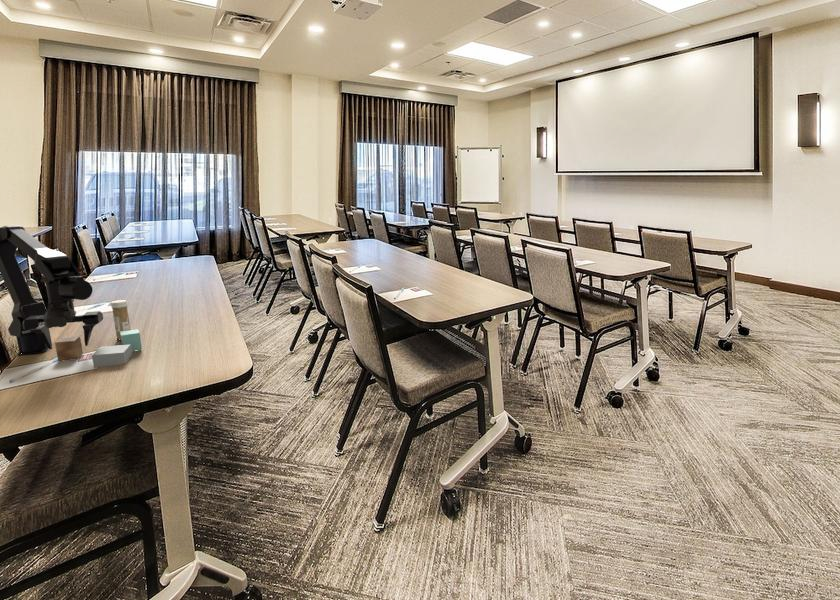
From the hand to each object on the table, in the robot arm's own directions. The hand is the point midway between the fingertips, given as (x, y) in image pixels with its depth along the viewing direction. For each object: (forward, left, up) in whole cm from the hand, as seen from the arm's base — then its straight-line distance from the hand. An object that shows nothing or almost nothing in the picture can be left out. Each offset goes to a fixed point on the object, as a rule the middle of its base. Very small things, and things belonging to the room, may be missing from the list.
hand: (68, 347), depth 143 cm
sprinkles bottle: (+11, +16, -4) cm, 20 cm away
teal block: (+16, +2, -3) cm, 17 cm away
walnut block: (0, 0, -3) cm, 3 cm away
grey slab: (+13, -8, -4) cm, 16 cm away
